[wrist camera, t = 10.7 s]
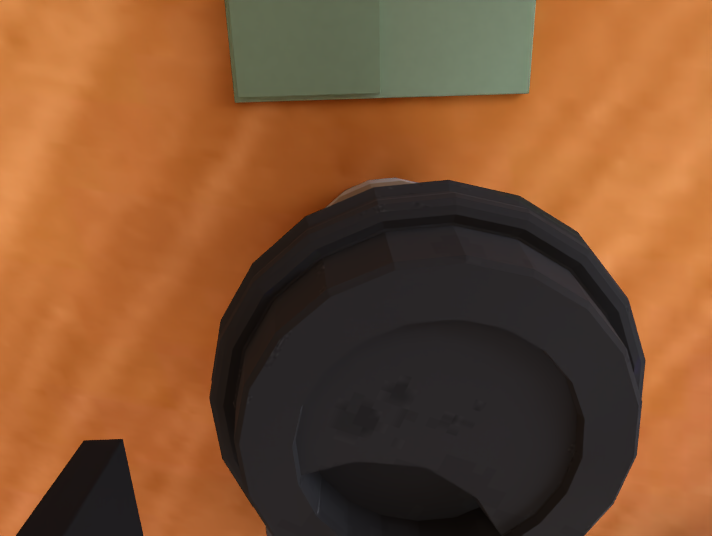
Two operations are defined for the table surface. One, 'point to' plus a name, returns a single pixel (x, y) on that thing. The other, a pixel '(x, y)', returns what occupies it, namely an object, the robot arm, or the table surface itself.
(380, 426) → the coffee cup
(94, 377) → the table surface
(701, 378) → the table surface
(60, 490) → the robot arm
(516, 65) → the cloth
